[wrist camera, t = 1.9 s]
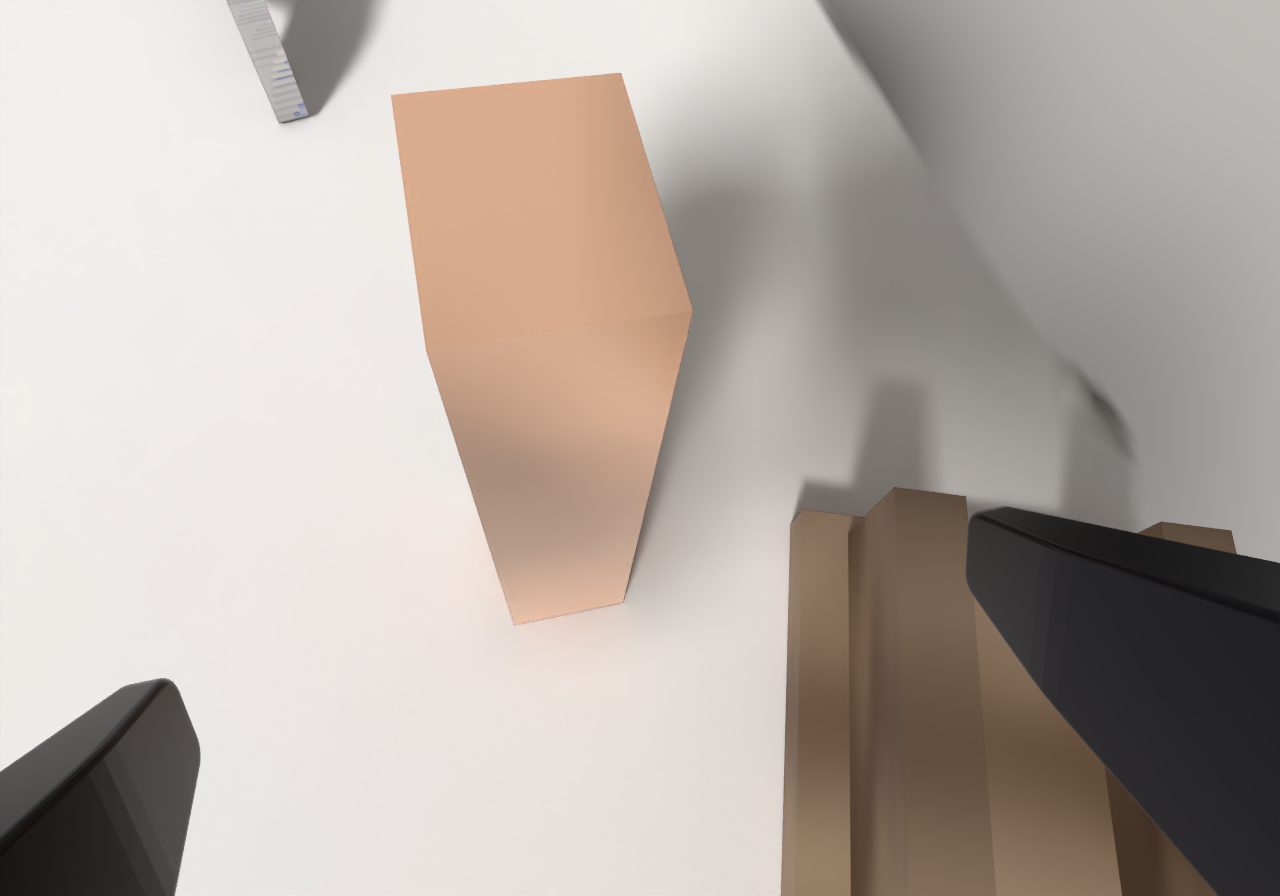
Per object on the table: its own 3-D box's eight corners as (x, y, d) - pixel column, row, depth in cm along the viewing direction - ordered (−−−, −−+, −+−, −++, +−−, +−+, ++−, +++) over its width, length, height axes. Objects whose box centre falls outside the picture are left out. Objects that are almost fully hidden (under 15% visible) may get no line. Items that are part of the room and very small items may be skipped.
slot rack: (1245, 1119, 17) (1458, 1218, 13) (776, 1068, 16) (842, 1153, 12) (1148, 570, 22) (1278, 516, 18) (790, 524, 21) (840, 459, 17)
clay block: (622, 603, 20) (693, 310, 8) (514, 625, 20) (426, 350, 8) (594, 475, 22) (620, 72, 10) (492, 494, 21) (390, 95, 9)
